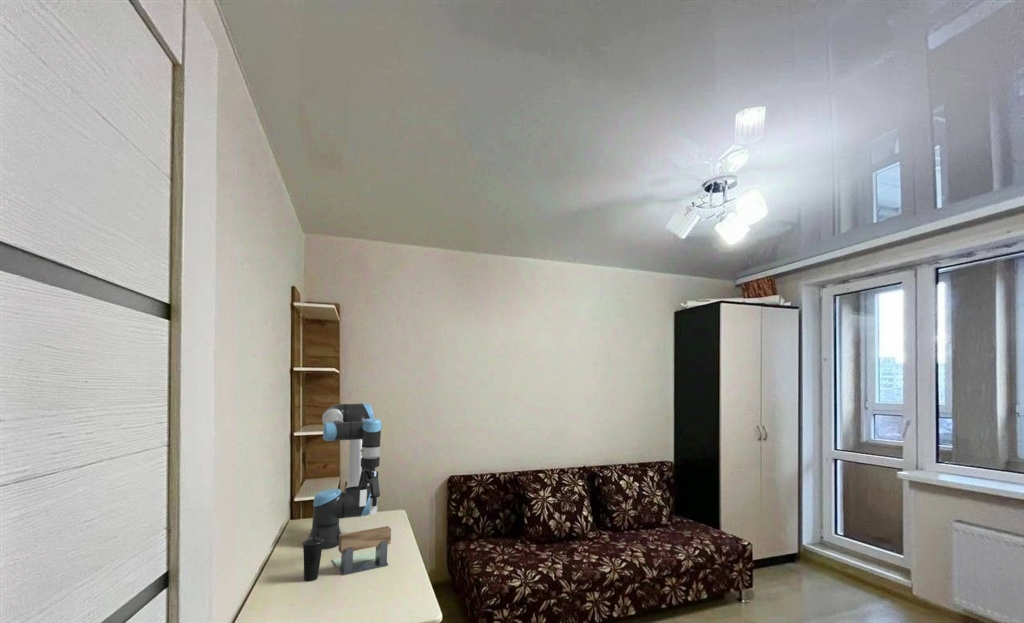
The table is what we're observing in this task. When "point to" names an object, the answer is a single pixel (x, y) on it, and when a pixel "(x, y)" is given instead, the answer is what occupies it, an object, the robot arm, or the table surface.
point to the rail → (364, 539)
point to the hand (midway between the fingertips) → (367, 510)
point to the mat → (357, 558)
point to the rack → (349, 568)
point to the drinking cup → (312, 556)
